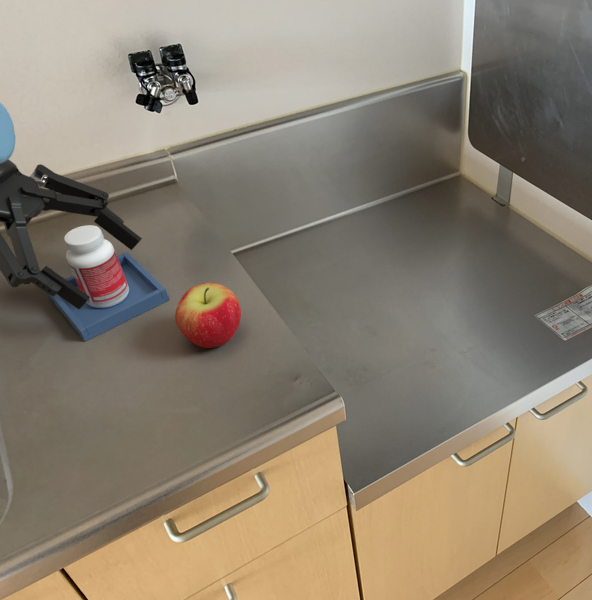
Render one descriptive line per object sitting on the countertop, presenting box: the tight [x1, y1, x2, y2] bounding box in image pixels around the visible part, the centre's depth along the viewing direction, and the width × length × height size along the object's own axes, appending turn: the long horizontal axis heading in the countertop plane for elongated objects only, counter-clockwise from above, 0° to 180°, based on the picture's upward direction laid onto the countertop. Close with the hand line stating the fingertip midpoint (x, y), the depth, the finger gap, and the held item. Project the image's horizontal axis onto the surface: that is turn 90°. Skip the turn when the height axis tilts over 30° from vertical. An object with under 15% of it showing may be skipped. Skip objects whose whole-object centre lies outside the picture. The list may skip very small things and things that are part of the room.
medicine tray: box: [47, 251, 170, 342], centre depth 90 cm, size 13×13×2 cm
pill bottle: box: [64, 224, 129, 308], centre depth 86 cm, size 6×6×11 cm
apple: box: [174, 282, 242, 349], centre depth 81 cm, size 8×8×10 cm
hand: (112, 272), depth 87 cm, fingers open, 13 cm apart
